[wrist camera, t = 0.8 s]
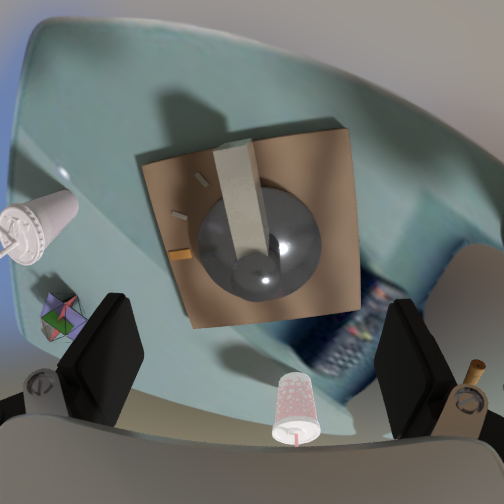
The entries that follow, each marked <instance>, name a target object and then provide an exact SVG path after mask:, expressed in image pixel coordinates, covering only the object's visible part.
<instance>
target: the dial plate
mask: <svg viewBox="0 0 504 504" xmlns="http://www.w3.org/2000/svg"><path fill="white" fill-rule="evenodd" d="M252 142H253V147H254V152H255V158H256V163H257V168H258V173H259V179H260V184H261V185H269V186H274V187H278V188H281V189H284V190H286V191H288V192H290V193H292V194H293V195H295V196H296V197H298V198H299V199H300V200H301V201H303V202H304V204H305V205H306V206H307V207H308V208H309V209H310V211H311V212H312V214H313V216H314V218H315V220H316V222H317V225H318V228H319V231H320V236H321V245H322V249H321V256H320V260H319V263H318V266H317V268H316V270H315V272H314V273H313V275H312V276H311V278H310V279H309V280H308V281H307V282H306V283H305V284H304V285H303V286H302V287H301V288H299V289H298V290H297V291H295V292H293V293H292V294H290V295H287V296H285V297H282V298H279V299H274V300H268V301H263V302H250V301H246V300H244V299H242V298H240V297H237V296H235V295H232V294H230V293H229V292H227V291H225V290H224V289H222V288H221V287H220V286H218V285H217V284H216V283H215V282H214V281H213V280H212V279H211V278H210V276H209V275H208V274H207V272H206V271H205V269H204V267H203V265H202V262H201V259H200V256H199V251H198V236H199V231H200V227H201V225H202V222H203V220H204V218H205V217H206V215H207V213H208V212H209V210H210V209H211V207H212V206H213V205H214V204H215V203H216V202H217V201H218V200H219V199H220V198H221V197H223V195H222V191H221V186H220V182H219V177H218V173H217V168H216V164H215V159H214V155H213V151H214V150H215V149H217V148H218V147H215V148H210V149H205V150H201V151H196V152H192V153H187V154H183V155H179V156H174V157H170V158H166V159H162V160H158V161H154V162H150V163H147V164H145V165H143V166H142V170H143V173H144V177H145V181H146V185H147V188H148V192H149V195H150V199H151V202H152V206H153V209H154V213H155V216H156V219H157V223H158V226H159V229H160V233H161V236H162V239H163V242H164V246H165V249H166V252H167V255H168V258H169V261H170V264H171V267H172V270H173V273H174V276H175V279H176V282H177V285H178V288H179V291H180V294H181V297H182V300H183V302H184V305H185V308H186V311H187V314H188V316H189V319H190V322H191V325H192V327H193V329H198V328H211V327H222V326H233V325H244V324H253V323H263V322H272V321H280V320H289V319H297V318H305V317H312V316H319V315H327V314H334V313H340V312H347V311H353V310H360V309H361V294H360V254H359V234H358V217H357V204H356V192H355V181H354V171H353V161H352V153H351V145H350V137H349V129H348V128H336V129H327V130H318V131H310V132H303V133H296V134H289V135H282V136H275V137H269V138H263V139H257V140H252Z"/></svg>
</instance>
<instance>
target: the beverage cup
mask: <svg viewBox="0 0 504 504" xmlns="http://www.w3.org/2000/svg"><path fill="white" fill-rule="evenodd" d="M272 435H273V437H274V438H275V439H276V440H277V441H279V442H282V443H285V444H295V447H299V446H298V445H299V444H303V443H307V442H310V441H312V440H314V439H316V438H317V437H318V436H319V435H320V424H319V423H318V421H317V416H316V409H315V403H314V397H313V391H312V385H311V379H310V378H309V376H308V375H306V374H304V373H300V372H291V373H288V374H285V375H284V376H283V377H281V379H280V381H279V387H278V398H277V408H276V417H275V424H274V426H273V430H272Z"/></svg>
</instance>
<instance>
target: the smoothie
mask: <svg viewBox="0 0 504 504" xmlns="http://www.w3.org/2000/svg"><path fill="white" fill-rule="evenodd" d="M78 210H79V205H78V201H77V198H76V197H75V195H74V194H73V193H72V192H70V191H68V190H62V191H59V192H56V193H52V194H49V195H46V196H43V197H40V198H37V199H34V200H31V201H28V202H25V203H22V204H19V203H14V204H11V205H9V206H8V207H7V208H5V209H4V210H3V211H2V212H1V214H0V241H1V243H2V246H3V247H4V249H3V250H2V251H0V258H2V257H3V256H4V255H6V254H8V255H9V256H10V257H11V258H12V259H13V260H14V261H16V262H17V263H19V264H21V265H31V264H33V263H34V262H36V261H37V260H39V259H40V258H41V256H42V255H43V252H44V249H45V248H46V247H47V246H48V245H49V244H50V243H51V241H52V240H53V239H54V238H55V237H56V236H57V235H58V234H59V233H60V232H61V231H62V230H63V229H64V228H65V226H66V225H67V224H68V223H69V222H70V221H71V220H72V219H73V218H74V217H75V216H76V215H77V213H78Z"/></svg>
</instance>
